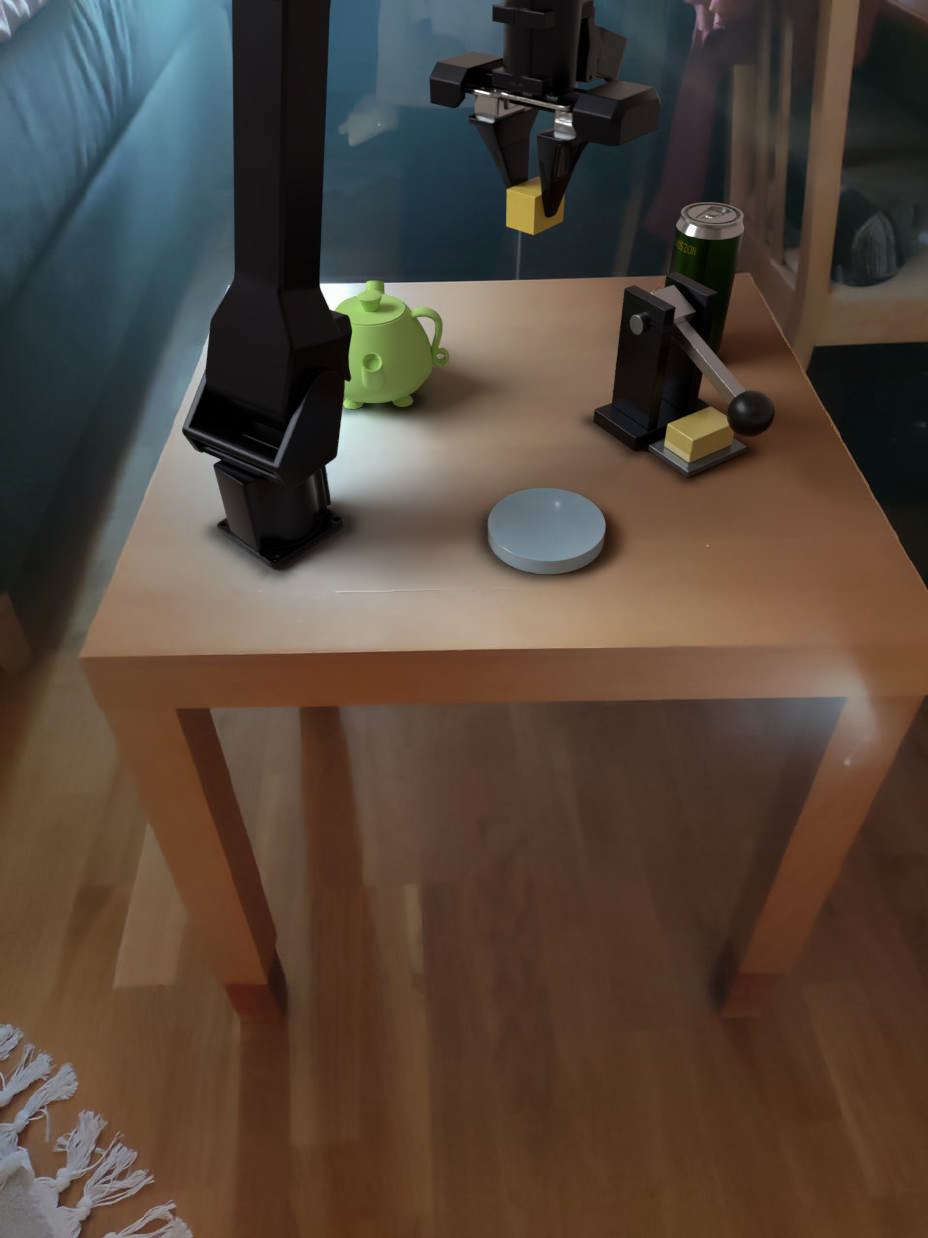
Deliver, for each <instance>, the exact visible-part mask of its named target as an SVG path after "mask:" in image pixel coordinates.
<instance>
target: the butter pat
mask: <svg viewBox="0 0 928 1238" xmlns="http://www.w3.org/2000/svg"><path fill="white" fill-rule="evenodd" d="M565 197H566V193H565V194H564V196H563V199H562V201H561V204H560V206H559V209H558V211H557V213H556V215H555V216H553V217H550V218H547V217H545V213H544V208H543V203H542V194H541V182H540V176H535V177H533V178H530V179H528V181H526V182H523V183H521V184H518V185H516V186H514V187H511V188H509V189H506V218H505V227H507V228H510V229H513V230H516V231H519V232H522V233H525V234H527V235H528V234H529V235H532V236H535V235H538V234H540V233H542V232H543V231H546V230H548V229H550V228H553V227H554V226H556V225H558V224H561V223H562V222H564V214H565V213H564V212H565Z"/></svg>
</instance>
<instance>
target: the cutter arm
mask: <svg viewBox="0 0 928 1238" xmlns="http://www.w3.org/2000/svg"><path fill="white" fill-rule="evenodd" d="M650 293H651V294H653V295H654V296H656V297H658V298H660V299H662V300H664V301H665V302H667V303H669V304H671V305H673V306H675V307H676V309H675V316H674V322H673V329H672V335H671V339H675V340H676V342H677V343H678V344H679V345H680V346H681V348H682V349H683V350H684V351H685V352H686V354H687V355H688V356H689V357H690V359H691V360H692V361H693V362H694V363H695V365H696V366H697V367H698V368H699V369H700V371H701V372H702V373H703V376H704V377H705V378H706V379H707V380H708V382H709V383H710V384H711V385H712V386H713V388H714V389H715V390H716V392H717V393H718V394H719V395H720V396H721V397H722V399H723V400H724V401H725V402H726V403H727V405H728V406H727V410H726V416H727V421H728V424H729V426H730V428H731V429H732V430H733V431H734V434H736V435H738V436H740V437H743V438H754V437H758V436H761V435H762V434H764V433H765V432H766V431H768V430H769V428H771V426H772V424H773V423H774V419H775V416H776V410H775V405H774V403H773V401H772V399H771V398H770V397H769V396H768V395H767V394H766V393H764V392H762V391H759V390H755V389H751V390H750V389H749V390H746V389H745V388H744V387H743V386H742V385H741V383H740V382H739V381H738V379H736V377H735V376H734V375H733V374H732V372H730V370H729V369H728V368H727V366H726V365H725V364H724V363H723V362H722V361H721V359H720V358H719V357H718V356H717V355H715V354H714V353H713V351H712V350H711V349H710V348H709V347H708V345H707V344H706V343H705V342H704V341H703V339H702V338H701V337H700V336H699V335H698V333H697V332H696V331H695V330H694V329H693V328H692V326H691V325H690V324H689V323H690V322H691V320H692V318H693V316H694V314H695V312H696V310H695V309H694V308H693V307H692V306H691V305H690V303H689V302H688V301H687V300H686V299H685V297H684V296H683V295H682V294H681V293H680V292H679V290H678V289H677V288H676V287H675V286H674V285H672V286H669V287H666V288H664V287H663V288H660V289H656V290H653V291H651V292H650Z"/></svg>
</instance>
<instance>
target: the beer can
mask: <svg viewBox="0 0 928 1238" xmlns="http://www.w3.org/2000/svg"><path fill="white" fill-rule="evenodd" d="M744 216H745V214H744V213H743V211H742V210H740V208H738V207H735V206H733V205H731V204H726V203H722V202H713V201H711V202H710V201H708V202H705V201H704V202H703V201H701V202H695V203H691V204H688V205H686V206H684V207H683V208H682V209H681V211H680V216H679V218H678V220H677V222H676V224H675V228H674V236H673V242H672V249H671V256H670V264H669V270H668V274H670V273H673V272H678V273H680V274H682V275H684V276H686V277H688V278H690V279H692V280H694V281H696V282H698V283H700V284H702V285H704V286H706V287H708V288H710V289H712V290H714V291H716V292H718V295H717V300H716V306H715V311H714V316H713V322H712V327H711V332H710V338H709V343H708V347H709V348H710V349H711V350H712V351H713V353H714V354H715V355H716V356H717V355H718V354H719V353H720V351H721V347H722V342H723V337H724V332H725V328H726V322H727V318H728V317H727V316H728V312H729V307H730V302H731V297H732V293H733V288H734V281H735V276H736V271H737V267H738V262H739V258H740V253H741V246H742V242H743V236H744V232H745V226H744V222H743V220H744V218H745V217H744Z"/></svg>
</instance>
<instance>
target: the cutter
mask: <svg viewBox="0 0 928 1238" xmlns="http://www.w3.org/2000/svg"><path fill="white" fill-rule="evenodd" d="M672 285H674V286H675V287H676V288H677V289H678V290H679V292H680V293H681V294H682V295H683V296H684V297H685V299H686V300H687V301H688V302H689V303H690V305H691V306H692V307H693V308H694V309H695V310H696V312H695V314H694V316H693V318H692V320H691V322H690V323H689V324H690V325H691V326H692V328H693V329H694V330H695V331H696V332H697V333H698V335H699V336H700V337H701V338H702V339H703V341H704V342H705V343H706V344H707V345H708V343H709V338H710V332H711V327H712V322H713V316H714V311H715V306H716V300H717V295H718V292H716V291H714V290H712V289H710V288H708V287H706V286H704V285H702V284H700V283H698V282H696V281H694V280H692V279H690V278H688V277H686V276H684V275H682V274H680V273H678V272H673V273H670V274H669V273H667V274H666V275H665V281H664V287H663V288H666V287H669V286H672ZM622 297H623V299H622V307H621V315H620V325H619V333H618V334H619V335H618V342H617V343H618V344H617V353H616V359H615V360H616V361H615V370H614V371H615V372H614V379H613V387H612V388H613V389H612V397H611V402H609V403H607V404H605V405H602V406H600V407H597V408H594V412H593V421H592V422H593V423H594V424H595V425H596V426H598V427H599V428H601V429H602V430H603V431H605V432H607V433H608V434H609V435H610V436H612V437H613V438H615V439H616V440H618V441H619V442H621V443H622V444H623V445H624V446H626V447H628V448H629V449H630V450H632V451H637V450H640V449H642V448H644V447H646V446H649V445H650V444H652V443H655V442H657V441H659V440H662V439H664V438H665V437H666V431H667V425H668V423H671V422H673V421H676V420H678V419H681V418H683V417H686V416H688V415H690V414H693V413H695V412H698V411H700V410H703V409H705V408H708V407H712V408H713V406H712V405H711V404H709V403H707V402H706V401H704V400H703V399H701V398H700V397H699V395H700V391H701V385H702V381H703V380H702V379H703V376H704V374H703V373H702V372H701V371H700V369H699V368H698V367H697V366H696V365H695V363H694V362H693V361H692V360H691V359H690V357H689V356H688V355H687V354H686V352H685V351H684V350H683V349H682V348H681V346H680V345H679V344H678V343H677V342H676V340H675V339H671V335H672V329H673V322H674V316H675V309H676V307H675V306H673V305H671V304H669V303H667V302H665V301H664V300H662V299H660V298H658V297H656V296H654V295H653V294H651V292H648V291H647V290H645V289H643V288H641V287H639V286H638V285H635V284H633V285H630V286H627V287H624V289H623V296H622Z"/></svg>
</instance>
